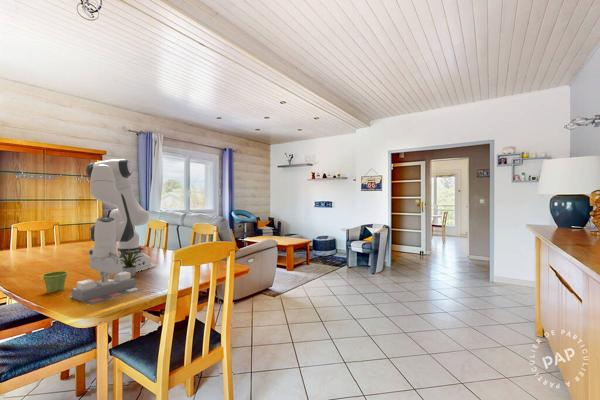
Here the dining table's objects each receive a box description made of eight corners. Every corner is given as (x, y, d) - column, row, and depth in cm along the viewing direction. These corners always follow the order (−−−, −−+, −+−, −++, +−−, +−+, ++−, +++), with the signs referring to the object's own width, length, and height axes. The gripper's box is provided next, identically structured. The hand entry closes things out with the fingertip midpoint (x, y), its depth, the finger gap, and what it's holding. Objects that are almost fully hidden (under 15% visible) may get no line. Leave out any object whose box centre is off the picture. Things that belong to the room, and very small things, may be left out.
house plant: (129, 282, 151) (129, 252, 151) (107, 280, 153) (107, 251, 153) (148, 275, 165) (148, 247, 165) (127, 273, 167) (128, 246, 167)
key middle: (107, 289, 136) (108, 278, 136) (113, 290, 134) (113, 280, 134) (96, 291, 132) (96, 281, 132) (102, 293, 129) (102, 283, 129)
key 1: (89, 290, 129) (89, 279, 129) (95, 292, 127) (95, 281, 127) (76, 293, 125) (76, 282, 124) (82, 295, 122) (82, 283, 122)
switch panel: (120, 285, 147) (120, 275, 146) (144, 291, 137) (144, 281, 137) (67, 298, 126) (67, 287, 126) (91, 307, 117) (91, 295, 117)
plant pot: (46, 296, 129) (46, 277, 128) (38, 292, 134) (39, 274, 133) (70, 290, 137) (71, 273, 136) (63, 287, 142) (63, 270, 141)
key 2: (124, 281, 143) (124, 271, 143) (130, 282, 141) (130, 272, 141) (114, 283, 139) (114, 273, 139) (120, 285, 136) (120, 275, 136)
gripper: (125, 253, 130) (124, 282, 130) (101, 248, 140) (100, 276, 140) (110, 255, 125) (110, 286, 125) (86, 250, 134) (86, 279, 134)
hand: (104, 280), depth 132 cm, fingers closed, pressing on key middle
